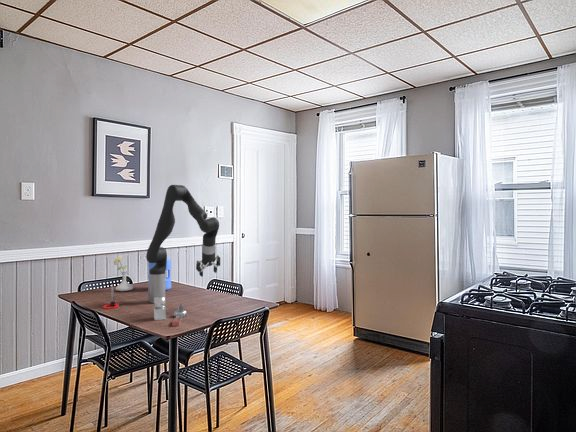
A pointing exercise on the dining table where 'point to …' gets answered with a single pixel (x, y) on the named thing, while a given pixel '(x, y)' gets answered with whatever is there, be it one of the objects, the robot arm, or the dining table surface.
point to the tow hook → (111, 301)
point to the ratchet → (179, 315)
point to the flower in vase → (124, 284)
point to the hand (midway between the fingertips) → (208, 274)
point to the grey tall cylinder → (159, 308)
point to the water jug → (167, 279)
